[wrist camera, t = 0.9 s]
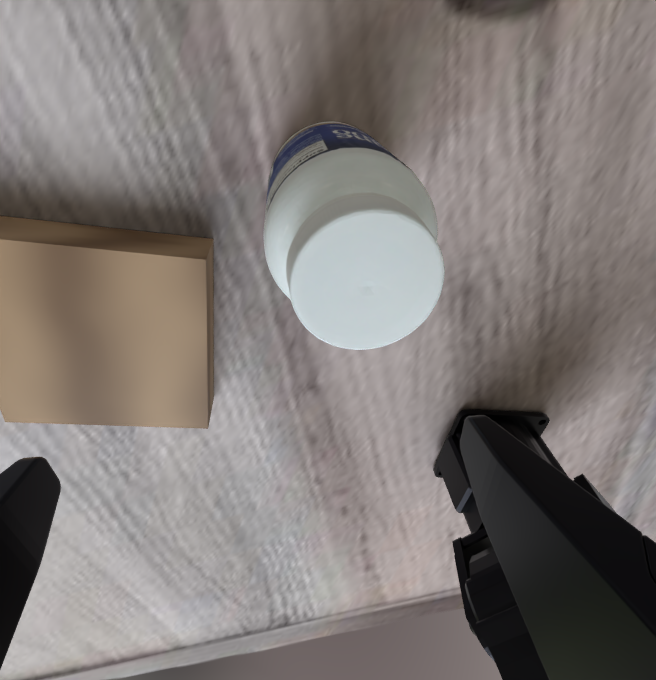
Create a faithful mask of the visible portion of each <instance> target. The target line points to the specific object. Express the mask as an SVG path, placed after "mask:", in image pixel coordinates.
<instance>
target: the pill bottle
mask: <svg viewBox="0 0 656 680" xmlns="http://www.w3.org/2000/svg"><path fill="white" fill-rule="evenodd" d="M264 248H265V255H266V260H267V264H268V267H269V269H270V272H271V274H272V276H273V278H274V280H275V282H276V283H277V285H278V286H279V287H280V289H281V290H282V291H283V292H284V293H285V294H286V296H287V297H288V298H289V299H291V302H292V305H293V308H294V310H295V312H296V314H297V316H298V318H299V319H300V321H301V322H302V324H303V325H304V326H305V327H306V328H307V330H308V331H310V332H311V333H312V334H313V335H314V336H316V337H317V338H319V339H320V340H322V341H324V342H326V343H328V344H330V345H333V346H336V347H340V348H344V349H354V350H365V349H373V348H379V347H382V346H386V345H388V344H391V343H394V342H396V341H398V340H400V339H402V338H403V337H405V336H407V335H408V334H410V333H411V332H413V331H414V330H415V329H416V328H417V327H419V326H420V325H421V324H422V323H423V322H424V321H425V320H426V318H427V317H428V316H429V314H430V313H431V311H432V310H433V308H434V307H435V305H436V303H437V301H438V299H439V297H440V294H441V291H442V286H443V282H444V273H445V271H444V262H443V257H442V253H441V250H440V248H439V245H438V243H437V219H436V214H435V210H434V206H433V203H432V201H431V198H430V196H429V194H428V192H427V191H426V189H425V187H424V186H423V184H422V183H421V182H420V180H419V179H418V178H417V176H416V175H415V174H414V173H413V171H412V170H411V169H410V168H408V167H407V166H406V165H405V164H404V163H402V162H401V161H400V160H398V159H397V158H396V157H395V156H393V155H392V154H391V153H390V152H389V151H388V150H386V149H385V148H384V147H383V146H382V145H380V144H379V143H378V142H377V141H376V140H374V139H373V138H372V137H370V136H369V135H368V134H366V133H365V132H363V131H361V130H360V129H358V128H356V127H354V126H351V125H348V124H346V123H341V122H320V123H316V124H313V125H310V126H308V127H305V128H303V129H301V130H300V131H298V132H297V133H295V134H294V135H293V136H291V137H290V138H289V139H288V140H287V141H286V143H285V144H284V145H283V146H282V147H281V149H280V150H279V152H278V154H277V155H276V158H275V160H274V162H273V165H272V167H271V171H270V176H269V179H268V191H267V203H266V211H265V224H264Z"/></svg>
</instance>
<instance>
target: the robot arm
mask: <svg viewBox="0 0 656 680" xmlns="http://www.w3.org/2000/svg"><path fill="white" fill-rule="evenodd" d="M549 421H550V420H549V418H548V416H547V415H546V414H545V413H537V412H515V411H492V410H470V409H466V410H463V411H461V412H460V413H459V414H458V416H457V418H456V420H455V422H454V425H453V427H452V429H451V431H450V433H449V436H448V437H447V439H446V441H445V443H444V445H443V448H442V450H441V452H440V454H439V457H438V459H437V462H436V464H435V467H434V469H433V471H434V473H435V476H436V477H441V478H443V479H444V482H445V484H446V487H447V489H448V492H449V494H450V497H451V499H452V502H453V505H454V507H455V509H456V511H457V512H458V513H463V514H464V516H465V519H466V521H467V524H468V526H469V529H470V531H471V534H469V535H467V536H465V537H464V538H458V539H456V540H454V541H453V547H454V553H455V562H456V567H457V572H458V578H459V583H460V588H461V593H462V599H463V604H464V609H465V615H466V618H467V620H468V622H469V626H470V629H471V631H472V632H473V634H475V635H476V636H477V638H478V640H479V641H480V643H481V645H482V646H483V648H484V649H485V651H486V652H487V653H488V655H489V656H490V657H491V658H492V659H493V660H494V661H495V663H496V665H497V667H498V669H499V672H500V674H501V677H502V679H503V680H656V543H655V542H654V541H653V540H651V539H650V538H649V537H647V536H645V535H644V536H642V533H641V532H640V531H639V530H638V529H636V528H635V527H634V526H632V525H631V524H630V523H628V522H627V521H626V520H624V519H623V518H622V517H620V516H619V515H618V514H617V513H616V512H615V511H614V510H613V508H612V507H611V506H610V504H609V503H608V502H607V501H606V500H605V499H604V498H603V496H602V495H601V494H600V493H599V492H598V491H597V490H596V488H595V487H594V486H593V485H592V484H591V483H590V482H589V480H588V479H587V478H586V477H585V476H584V475H583V474H581V475H579V476H577V477H575V478H574V480H571V479H570V478H569V477H568V476H567V474H566V473H565V472H564V470H563V469H562V467H561V466H560V464H559V463H558V461H557V460H556V459H555V457H554V456H553V454H552V453H551V451H550V450H549V448H548V447H547V446H546V444H545V443H544V441H543V440H542V438H541V437H540V436H541V434H542V433H543V431H544V429H545V428H546V426H547V425H548V423H549ZM60 490H61V485H60V481H59V479H58V477H57V476H56V474H55V472H54V471H53V469H52V468H51V466H50V465H49V463H48V461H47V460H46V459H45V458H43V457H31V458H23V459H20V460H18V461H17V462H15V463H14V464H12V465H11V466H10V467H9V468H7V469H6V470H5V471H3V472H2V473H1V474H0V669H1V666H2V664H3V661H4V659H5V656H6V653H7V651H8V648H9V646H10V643H11V640H12V638H13V635H14V633H15V630H16V627H17V625H18V622H19V620H20V617H21V614H22V612H23V609H24V607H25V604H26V601H27V599H28V596H29V593H30V591H31V588H32V586H33V583H34V580H35V578H36V575H37V572H38V569H39V567H40V564H41V560H42V557H43V554H44V550H45V547H46V543H47V539H48V536H49V532H50V528H51V525H52V521H53V517H54V513H55V510H56V506H57V502H58V499H59V495H60Z"/></svg>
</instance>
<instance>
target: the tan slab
mask: <svg viewBox="0 0 656 680" xmlns="http://www.w3.org/2000/svg"><path fill="white" fill-rule="evenodd" d="M213 399H214V312H213V239H210V238H201V237H191V236H182V235H173V234H164V233H155V232H145V231H136V230H127V229H118V228H108V227H99V226H90V225H81V224H72V223H62V222H53V221H44V220H35V219H25V218H16V217H7V216H0V410H1V412H2V415H3V417H4V420H5V422H21V423H52V424H83V425H114V426H144V427H175V428H206V429H208V426H209V420H210V415H211V410H212V404H213Z"/></svg>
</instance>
